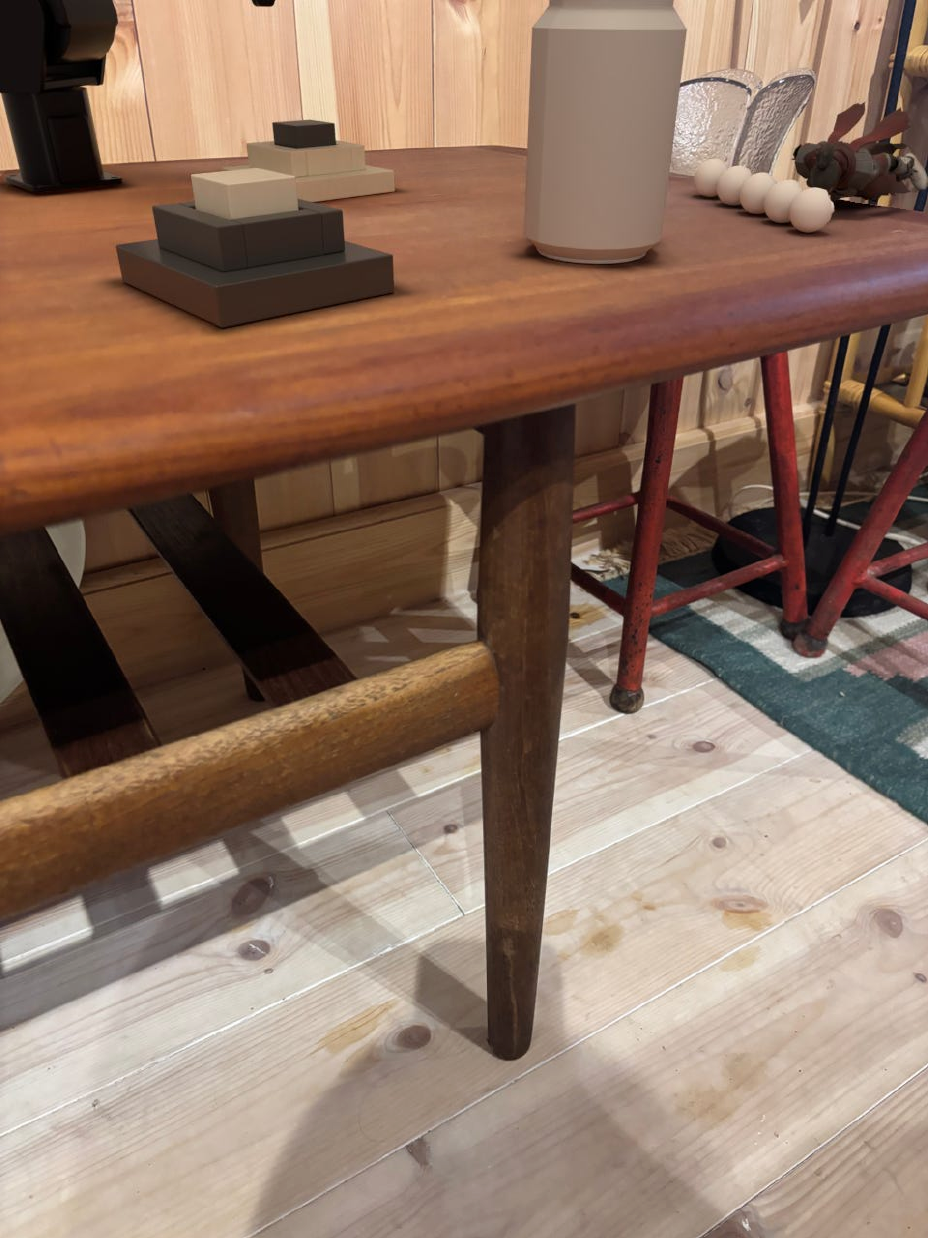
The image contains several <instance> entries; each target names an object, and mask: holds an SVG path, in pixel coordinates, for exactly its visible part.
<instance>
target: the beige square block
mask: <svg viewBox="0 0 928 1238" xmlns="http://www.w3.org/2000/svg"><path fill="white" fill-rule="evenodd" d="M190 178H191V184H192V185H191V186H192V191H193V199H194V201H195V206H196V210H199V211H202V212H205V213H209V214H212V215H215V216H218V217H222V218H225V219H228V220H231V219H237V218H245V217H252V216H259V215H267V214H274V213H281V212H289V211H296V210H298V200H297V189H296V178H295V176H291V175H286V174H282V173H277V172H273V171H269V170H264V169H260V168H250V169H240V170H231V171H222V170H221V171H213V172H202V173H195V174H194V173H193V174H191V175H190Z"/></svg>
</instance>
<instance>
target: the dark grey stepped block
mask: <svg viewBox="0 0 928 1238" xmlns="http://www.w3.org/2000/svg"><path fill="white" fill-rule="evenodd" d="M297 200H298V210H296V211H289V212H281V213H274V214H267V215H259V216H252V217H245V218H237V219H231V220H228V219H225V218H222V217H218V216H215V215H212V214H209V213H205V212H202V211H199V210H196V206H195V200H191V201H182V202H177V203H175V202H173V203H167V204H165V203H163V204H156V205H151V209H152V215H153V222H154V227H155V234H156V239H148V240H147V239H146V240H142V241H135V242H127V243H120V244H119V243H118V244H115V251H116V255H117V261H118V265H119V270H120V275H121V280H122V282H123V283H124V284H127V285H129V286H132V287H134V288H136V289H137V290H140V291H142V292H144V293H146V294H148V295H151V296H153V297H155V298H157V299H159V300H161V301H164V302H165V303H168V304H170V305H172V306H174V307H176V308H179V309H181V310H183V311H185V312H187V313H189V314H191V315H194V316H196V317H197V318H200V319H201V320H205V321H206V322H209V323H211V324H213V325H215V326H217V327H219V328H222V329H223V328H228V327H233V326H237V325H243V324H248V323H253V322H258V321H262V320H266V319H271V318H275V317H276V318H277V317H281V316H287V315H291V314H296V313H300V312H305V311H311V310H315V309H320V308H326V307H330V306H334V305H335V306H336V305H338V304H344V303H349V302H354V301H358V300H363V299H368V298H372V297H377V296H382V295H388V294H392V293H394V292H395V275H394V274H395V272H394V255H393V254H391V253H389V252H384V251H382V250H378V249H374V248H371V247H367V246H365V245H364V246H363V245H361V244H357V243H353V242H351V241H347V240H346V239H345V223H344V211H343V209H340V208H336V207H332V206H328V205H325V204H321V203H317V202H309V201H305V200H301V199H297Z"/></svg>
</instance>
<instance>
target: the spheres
mask: <svg viewBox="0 0 928 1238" xmlns="http://www.w3.org/2000/svg"><path fill="white" fill-rule="evenodd" d="M693 185H694V187H695V190H696V192H698V193H699V194H700V195H702V196H703V197H705V198H712V197H716V196H717V197H718V198H719V199H720V200H721V202H722V203H723V204H725V205H728V206H733V207H734V206H739V205H741V206H742V208H743V209H744V210H745V211H746V212H748V213H750V214H753V215H760V214H764V213H765V215H766V216H767V218H768V219H770V220H771V221H773V222H775V223H778V224H785V223H789V222H790V223H791V225H792V226H793V228H795V229H796V230H798V231H800V232H802V233H814V232H817V231H819V230H821V229H822V228H824V227H825V226H826V225H827V224H828V223H829V222H830V221H831V219H832V216H833V213H834V212H835V205H834V201H833V200H832V199H831V198H830V195H828V192H827V190H824V189H821V188H810V187H807V188H806V189H803V188H802V187H801V184H800V182H799V181H797V180H795V179H783V180H779V181H778V182H777V181H776V179H775V178H774V176H772V174H770V173H768V172H765V171H764V172H763V171H762V172H756V173H752V172H751V170H750V169H749V168H747V167H746V166H744V165H733V166H730V167H728V165H727V163H726V162H725V161H723V160H721V159H719V158H709V159H707V160H704V161H703V162H702V163H700V165H699V166H698V167H697V168H696V170H695V173H694V176H693Z"/></svg>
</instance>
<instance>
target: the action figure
mask: <svg viewBox="0 0 928 1238" xmlns="http://www.w3.org/2000/svg"><path fill="white" fill-rule="evenodd" d="M866 102H867V101H864V102H862V103H859V102H856V103H854V104H852V105H851V106H850V107H848V108H847V109H845V110H844V111H842V112H840V113H838V114H837V116H836V119H835V122H834V127H833V131H832V132H831V133H830V134H829V136H828V138H827V140H826V141H825V140H822V141H819V142H818V143H813V142H805V143H803V144H802V143H801V144H799V145H798V146H796V147H795V148H794V151H793V153H792V156H793V158H790V160H791V161H794V166H795V171H796V173H797V174H798V175H799V176H801V177H802V178H803V179H805V183H806V184H805V185H806V186H807V188H821V189H824V190H827V192H828V195H829V197H830V199H831V201H833V202H836V201H839V200H841V199H845V198H846V199H847V198H852V197H854V198H861V199H863V200H864V201H871V202H873V203H877V202H878V200H880V198H881V197H885V196H886V197H889V196H894V197H896V194H901V195H902V194H908V193H910V192H912V191H911V190H910V189H909V188H908V187H907V186H906V184H905V183H904V182H906V180H908V179H909V180H910V183H911V184H912V186H913V187H914V188H915V190H916V191H919V192H922V191H925V190H926V189H927V187H928V174H927V172H926V170H925V168H924V167H923V165H922V164H921V162H920V160H918V157H917V156H916V155H915V154H913V153H912V152H909V153H906V154H905V155H904V156H899V155H896V156H895V153H896V152H897V150H904V149H906V148H907V147H909V145H908V144H906V143H903V142H901V143H891V142H888V141H885V140H888V139H892V138H894V137H895V136H897V135H899V134H901V133H904V132H905V131H907V130H909V129H910V128H911V127H912V126H911V125H910V122H911V119H910V116H909V112H907V110H902V107H901V106H900V107H899V108H897V109H896V110H894V111H892V112H891V113H890V114H888V115H887V116H885V117H884V118H882V119H881V121H879V123H878V124H877V125H876V126H875V127H874V128H873V129H872V131H871V132H870V133H868V134H866V135H864V136H861V137H857V138H855V139H853V140H851V142H846V141H842V140H841V139H842V138H843V137H844V136H846V135H847V134H849V133H850V131H851V130H852V129H853V128H854V127H855V126H856V125H858V123H859V122H860V121H861V119H862V118H863V116H864V115H865V113H866Z"/></svg>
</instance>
